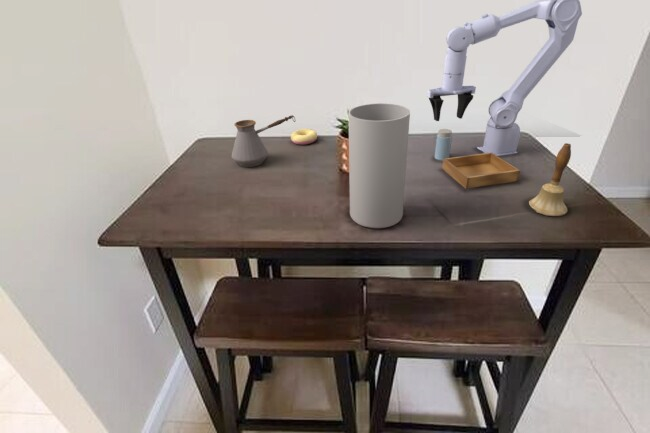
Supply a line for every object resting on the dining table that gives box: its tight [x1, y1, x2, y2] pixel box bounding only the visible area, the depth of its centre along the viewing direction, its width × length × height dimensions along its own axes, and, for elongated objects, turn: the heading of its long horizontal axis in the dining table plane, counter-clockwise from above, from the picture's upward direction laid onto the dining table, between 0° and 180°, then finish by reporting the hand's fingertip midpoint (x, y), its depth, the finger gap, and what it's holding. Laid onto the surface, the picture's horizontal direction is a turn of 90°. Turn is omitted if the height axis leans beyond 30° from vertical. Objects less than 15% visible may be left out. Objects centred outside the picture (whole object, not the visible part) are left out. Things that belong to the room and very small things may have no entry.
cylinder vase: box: [347, 103, 411, 229], centre depth 85 cm, size 12×12×25 cm
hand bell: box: [528, 143, 572, 217], centre depth 87 cm, size 8×8×16 cm
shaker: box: [434, 128, 453, 161], centre depth 115 cm, size 4×4×9 cm
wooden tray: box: [442, 152, 521, 189], centre depth 106 cm, size 15×13×4 cm
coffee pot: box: [231, 114, 296, 168], centre depth 118 cm, size 21×12×15 cm, turn 84°
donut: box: [290, 128, 318, 146], centre depth 136 cm, size 10×5×9 cm
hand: (447, 118), depth 118 cm, fingers open, 7 cm apart
